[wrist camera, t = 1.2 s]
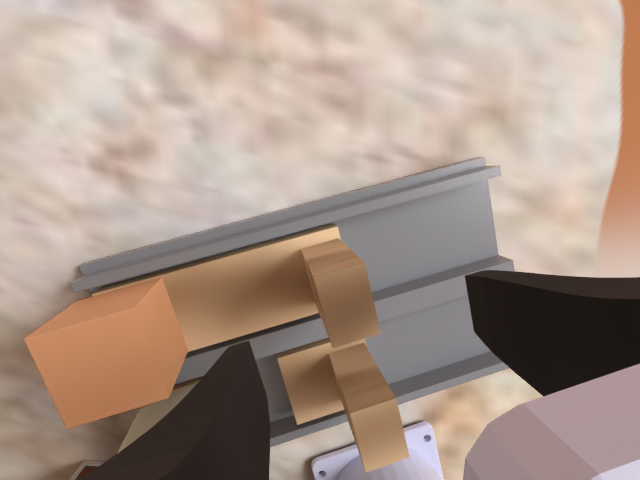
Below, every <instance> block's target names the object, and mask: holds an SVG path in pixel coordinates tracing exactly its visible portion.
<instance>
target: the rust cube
mask: <svg viewBox="0 0 640 480" xmlns="http://www.w3.org/2000/svg"><path fill="white" fill-rule="evenodd" d="M24 341H25V343H26V345H27V347H28V349H29V351H30V353H31V355H32V358H33V360H34V362H35V364H36V366H37V368H38V370H39V372H40V374H41V376H42V379H43V381H44V383H45V385H46V387H47V389H48V391H49V393H50V395H51V398H52V400H53V402H54V404H55V406H56V408H57V410H58V412H59V414H60V416H61V419H62V421H63V423H64V425H65V427H66V429H70V428H73V427H77V426H80V425H83V424H86V423H89V422H93V421H96V420H99V419H102V418H106V417H109V416H112V415H115V414H119V413H122V412H125V411H128V410H132V409H135V408H138V407H141V406H144V405H148V404H151V403H154V402H157V401H161V400H164V399H167V398H169V397H170V394H171V392H172V389H173V387H174V384H175V382H176V379H177V377H178V375H179V372H180V370H181V367H182V365H183V362H184V360H185V357H186V355H187V352H188V347H187V345H186V342H185V339H184V336H183V334H182V331H181V328H180V325H179V323H178V320H177V317H176V314H175V312H174V309H173V306H172V304H171V301H170V298H169V295H168V293H167V290H166V287H165V284H164V282H163V279H162V277H160V278H157V279H153V280H150V281H146V282H142V283H139V284H135V285H132V286H128V287H124V288H121V289H117V290H114V291H110V292H106V293H103V294H99V295H96V296H92V297H88V298H85V299H81V300H77V301H76V302H74V303H73V304H72V305H70V306H69V307H67V308H66V309H65V310H63V311H62V312H60V313H59V314H58V315H56V316H55V317H53V318H52V319H51V320H49V321H48V322H47V323H45V324H44V325H42V326H41V327H40V328H38V329H37V330H35V331H34V332H33V333H31V334H30V335H28V336H27V337H26V338H24Z"/></svg>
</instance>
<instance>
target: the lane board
mask: <svg viewBox="0 0 640 480" xmlns="http://www.w3.org/2000/svg"><path fill="white" fill-rule="evenodd" d="M497 176H501V168H500V166H486V165H485V158H484V157H478V158H474V159H470V160H466V161H463V162H459V163H455V164H451V165H448V166H444V167H440V168H437V169H433V170H429V171H425V172H422V173H418V174H414V175H410V176H407V177H403V178H399V179H395V180H392V181H388V182H384V183H381V184H377V185H373V186H369V187H366V188H362V189H358V190H354V191H351V192H347V193H343V194H340V195H336V196H332V197H328V198H325V199H321V200H317V201H313V202H310V203H306V204H302V205H299V206H295V207H291V208H287V209H284V210H280V211H276V212H272V213H269V214H265V215H261V216H257V217H254V218H250V219H246V220H243V221H239V222H235V223H231V224H228V225H224V226H220V227H216V228H213V229H209V230H205V231H202V232H198V233H194V234H190V235H187V236H183V237H179V238H175V239H172V240H168V241H164V242H160V243H157V244H153V245H149V246H146V247H142V248H138V249H134V250H131V251H127V252H123V253H119V254H116V255H112V256H108V257H105V258H101V259H97V260H93V261H90V262H86V263H83V264H81V265H80V266H79V267H80V270H81V272H82V276H81V277H79V278H77V279H76V280H74V281H72V282H71V283H70V285H71V288H72V290H73V292H74V293H75V292H79V291H82V290H86V289H89V291H90V294H93V293H94V292H95V291H97V290H98V289H99V288H101V287H102V286H106V285H110V284H113V283H117V282H120V281H124V280H128V279H131V278H135V277H139V276H142V275H146V274H149V273H153V272H157V271H160V270H164V269H168V268H171V267H175V266H179V265H182V264H186V263H189V262H193V261H197V260H200V259H204V258H208V257H211V256H215V255H218V254H222V253H226V252H229V251H233V250H237V249H240V248H244V247H248V246H251V245H255V244H258V243H262V242H266V241H269V240H273V239H277V238H280V237H284V236H288V235H291V234H295V233H298V232H302V231H306V230H309V229H313V228H317V227H320V226H324V225H327V224H331V223H334V224H335V225H337V226H338V230H339V234H340V238H341V241H342V242H343V243H344V244H345V245H346V246H347V247H349V248H350V249H351V250H352V251H353V252H354V253H355V254H356V255H357V256H358V257H359V258H360V259H361V260H362V261H363V262H365V265H366V270H367V274H368V278H369V283H370V287H371V291H372V296H373V300H374V304H375V309H376V313H377V318H378V322H379V326H380V331H381V334H379V335H375V336H372V337H369V338H366V339H365V341H366V345H367V349H368V350H369V352H370V354H371V356H372V357H373V359H374V361H375V363H376V364H377V366H378V368H379V370H380V371H381V373H382V375H383V376H384V378H385V380H386V382H387V383H388V385H389V387H390V389H391V390H392V392H393V394H394V396H395V397H396V400H397V404H398V405H399V404H402V403H405V402H408V401H411V400H414V399H417V398H420V397H423V396H426V395H429V394H432V393H435V392H438V391H441V390H444V389H447V388H450V387H453V386H456V385H459V384H462V383H465V382H468V381H471V380H474V379H478V378H481V377H484V376H487V375H490V374H493V373H496V372H499V371H502V370H505V369H508V368H509V367H508V366H507V365H506V364H505V363H503V362H502V361H501V360H500V359H499V358H498V357H497V356H495V355H494V354H493V353H492V352H491V351H490V349H489V348H488V347H487V346H486V345H485V344H484V343H483V342H482V341H481V339H480V338H479V337H478V336H477V335H476V333H475V332H474V329H473V323H472V317H471V311H470V305H469V299H468V293H467V287H466V281H465V275H469V274H472V273H475V272H479V271H482V270H501V271H514V265H513V260H511V259H508V258H505V257H503V256H500V255H498V249H497V242H496V235H495V228H494V221H493V214H492V207H491V200H490V193H489V186H488V179H490V178H493V177H497ZM91 296H92V295H91ZM325 338H328V335H327V332H326V330H325V327H324V325H323V322H322V319H321V317H320V314H319V313H317V314H314V315H311V316H307V317H304V318H300V319H297V320H294V321H290V322H287V323H284V324H280V325H277V326H274V327H270V328H267V329H264V330H260V331H257V332H254V333H250V334H247V335H244V336H240V337H237V338H234V339H230V340H227V341H223V342H220V343H217V344H213V345H210V346H207V347H203V348H200V349H197V350H193V351H190V352H187V355H186V357H185V360H184V362H183V365H182V367H181V370H180V372H179V375H178V377H177V379H176V382H175V384H178V383H181V382H185V381H188V380H191V379H194V378H198V377H201V376H204V375H205V374H206V373H207V372H208V370H209V369H210V368H211V367H212V366H213V365H214V363H215V362H216V361H217V360H218V359H219V357H220V356H221V355H222V354H223V353H224V351H225V350H226V349H227V348H228V347H229V346H232V345H235V344H239V343H242V342H245V341H249V342H250V345H251V348H252V351H253V354H254V357H255V360H256V363H257V366H258V370H259V373H260V376H261V379H262V382H263V385H264V388H265V391H266V394H267V398H268V407H269V417H270V447H272V446H275V445H278V444H281V443H284V442H287V441H290V440H293V439H296V438H299V437H302V436H305V435H308V434H311V433H314V432H317V431H320V430H323V429H326V428H329V427H332V426H335V425H338V424H341V423H344V422H347V421H348V419H347V416H346V413H345V410H341V411H338V412H335V413H332V414H329V415H326V416H323V417H320V418H317V419H314V420H311V421H308V422H305V423H302V424H299V425H297V422H296V419H295V415H294V412H293V409H292V406H291V402H290V399H289V396H288V393H287V389H286V386H285V383H284V379H283V376H282V373H281V370H280V366H279V363H278V360H277V353H279V352H283V351H286V350H289V349H292V348H296V347H299V346H302V345H306V344H309V343H312V342H315V341H319V340H322V339H325ZM175 384H174V385H175ZM138 409H139V408H138Z"/></svg>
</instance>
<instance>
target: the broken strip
mask: <svg viewBox="0 0 640 480" xmlns="http://www.w3.org/2000/svg"><path fill="white" fill-rule="evenodd" d="M277 360H278V363H279V366H280V370H281V373H282V376H283V379H284V383H285V386H286V389H287V393H288V396H289V399H290V402H291V406H292V409H293V412H294V415H295V419H296V422H297V425H299V424H302V423H305V422H308V421H311V420H314V419H317V418H320V417H323V416H326V415H329V414H332V413H335V412H338V411H341V410H345V413H346V416H347V419H348V422H349V425H350V428H351V430H352V433H353V436H354V439H355V442H356V445H357V448H358V451H359V454H360V457H361V460H362V463H363V466H364V469H365V472H369V471H372V470H375V469H378V468H381V467H383V466H386V465H389V464H392V463H395V462H398V461H401V460H404V459H407V458H409V452H408V448H407V444H406V439H405V435H404V431H403V426H402V422H401V418H400V413H399V409H398V404H397V400H396V397H395V396H394V394H393V392H392V390H391V389H390V387H389V385H388V383H387V382H386V380H385V378H384V376H383V375H382V373H381V371H380V370H379V368H378V366H377V364H376V363H375V361H374V359H373V357H372V356H371V354H370V352H369V350H368V349H367V345H366V341H365V339H362V340H359V341H356V342H353V343H350V344H346V345H343V346H340V347H337V348H332V345H331V343H330V340H329V338H325V339H322V340H319V341H315V342H312V343H309V344H306V345H302V346H299V347H296V348H292V349H289V350H286V351H283V352H279V353H277ZM202 378H203V376H201V377H198V378H194V379H191V380H188V381H185V382H181V383H178V384H175V385H174V387H173V389H172V392H171V394H173V393H175V392H177V391H179V390H181V389H183V388H185V387H187V386H189V385H191V384H193V383H195V382H198V381H200V380H201V379H202ZM171 394H170V395H171ZM151 404H152V403H151ZM148 405H150V404H148ZM148 405H144V406H141V407H138V408H139V410H140V409H142V408H144V407H146V406H148Z"/></svg>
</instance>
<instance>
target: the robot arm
mask: <svg viewBox="0 0 640 480" xmlns="http://www.w3.org/2000/svg"><path fill="white" fill-rule="evenodd" d="M465 281H466V287H467V293H468V299H469V305H470V311H471V317H472V323H473V329H474V332H475V333H476V335H477V336H478V337H479V338H480V339H481V341H482V342H483V343H484V344H485V345H486V346H487V347H488V348H489V349H490V351H491V352H492V353H493V354H494V355H495V356H497V357H498V358H499V359H500V360H501V361H502V362H503V363H505V364H506V365H507V366H508V367H509V368H510V369H512V370H513V371H514V372H515V373H516V374H518V375H519V376H520V377H521V378H522V379H524V380H525V381H526V382H527V383H528V384H530V385H531V386H532V387H533V388H534V389H535V390H537V391H538V392H539V393H540V394H541V395H543V396H544V397H541V398H538V399H535V400H532V401H529V402H526V403H523V404H521V405H518V406H516V407H515V408H513V409H512V410H510V411H508V412H507V413H505V414H503V415H502V416H500V417H498V418H497V419H495V420H494V421H492V422H490V423H489V424H487V426H486V427H485V429H484V430H483V432H482V433H481V435H480V436H479V438H478V439H477V441H476V442H475V444H474V445H473V446H472V448H471V449H470V451H469V452H468V454H467V456H466V458H465V466H464V476H463V480H640V277H637V278H592V277H573V276H557V275H546V274H535V273H525V272H514V271H501V270H482V271H479V272H475V273H472V274H469V275H465ZM403 431H404V435H405V439H406V444H407V448H408V452H409V458H407V459H404V460H401V461H398V462H395V463H392V464H389V465H386V466H383V467H381V468H378V469H375V470H372V471H369V472H365V469H364V466H363V463H362V460H361V457H360V454H359V451H358V448H357V445H356V444H355V445H352V446H349V447H346V448H343V449H340V450H337V451H334V452H331V453H328V454H325V455H322V456H319V457H317V458H315V459H314V460H313V461H312V463H311V467H312V471H313V475H314V478H315V480H443V475H442V470H441V465H440V460H439V456H438V451H437V446H436V441H435V436H434V432H433V428H432V426H431V425H430V423H429V422H426V421H424V422H420V423H417V424H414V425H411V426H408V427H405V428H403ZM426 435H428V436H427V437H425V438H424V436H426ZM269 460H270V417H269V407H268V398H267V394H266V391H265V388H264V385H263V382H262V379H261V376H260V373H259V370H258V366H257V363H256V360H255V357H254V354H253V351H252V348H251V345H250V342H249V341H245V342H242V343H239V344H235V345H232V346H229V347H228V348H227V349H226V350H225V351H224V353H223V354H222V355H221V356H220V357H219V359H218V360H217V361H216V362H215V363H214V365H213V366H212V367H211V368H210V369H209V370H208V372H207V373H206V374H205V375H204V376H203V378H202V379H201V380H200V381H199V382H198V383H197V384H196V385H195V386H194V387H193V388H192V390H191V391H190V392H189V393H188V394H187V395H186V396H185V397H184V398H183V399H182V400H181V401H180V402H179V403H178V404H177V405H176V406H175V407H174V408H173V409H172V410H171V411H170V412H169V413H168V414H167V415H165V416H164V417H163V418H162V419H161V420H160V421H159V422H158V423H156V424H155V425H154V426H153V427H152V428H150V429H149V430H148V431H147V432H145V433H144V434H143V435H141V436H140V437H139V438H138V439H136V440H135V441H134V442H132V443H131V444H130V445H128V446H127V447H126V448H124V449H123V450H122V451H120V452H119V453H118V454H116V455H115V456H113V457H112V458H110V459H109V460H107V461H106V462H104V463H103V464H101V465H100V466H99V467H97V468H95V469H94V470H92V471H91V472H89V473H88V474H86V475H84V476H83V477H81V478H80V479H78V480H269ZM320 471H324V472H323V473H319V472H320Z"/></svg>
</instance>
